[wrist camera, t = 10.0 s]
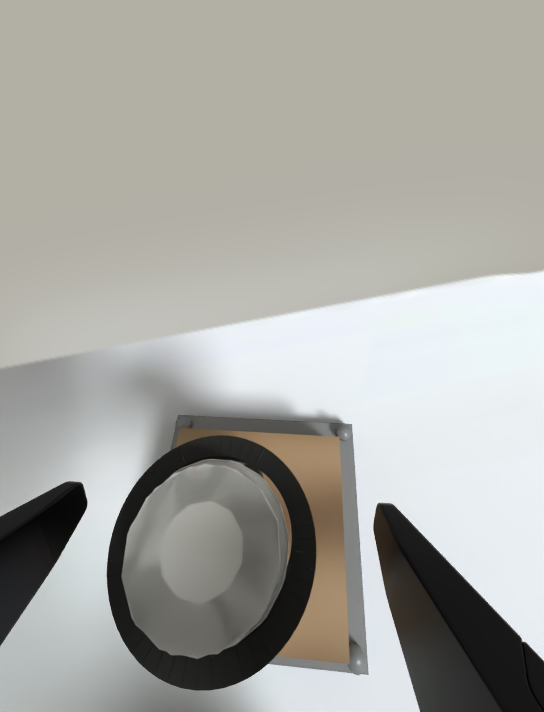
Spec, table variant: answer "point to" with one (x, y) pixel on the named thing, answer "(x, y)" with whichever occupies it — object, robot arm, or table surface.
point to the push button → (211, 563)
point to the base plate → (349, 521)
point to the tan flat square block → (324, 494)
